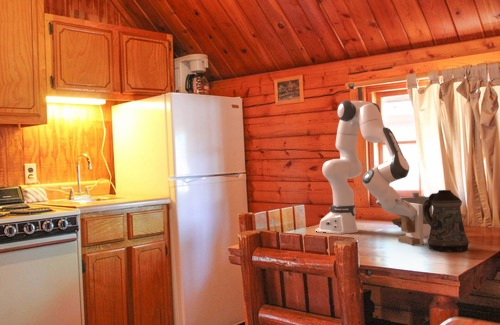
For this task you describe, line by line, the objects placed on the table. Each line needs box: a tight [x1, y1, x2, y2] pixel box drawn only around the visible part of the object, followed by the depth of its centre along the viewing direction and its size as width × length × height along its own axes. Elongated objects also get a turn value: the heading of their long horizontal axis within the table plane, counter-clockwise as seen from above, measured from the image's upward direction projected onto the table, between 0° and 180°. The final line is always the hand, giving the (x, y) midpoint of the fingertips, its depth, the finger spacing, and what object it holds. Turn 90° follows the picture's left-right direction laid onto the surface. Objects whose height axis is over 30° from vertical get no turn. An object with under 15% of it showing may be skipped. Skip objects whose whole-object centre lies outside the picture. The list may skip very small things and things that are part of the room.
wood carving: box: [391, 212, 467, 237], centre depth 247 cm, size 9×35×11 cm, turn 75°
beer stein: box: [423, 189, 470, 254], centre depth 214 cm, size 16×19×25 cm
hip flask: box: [400, 191, 433, 232], centre depth 263 cm, size 16×4×20 cm, turn 82°
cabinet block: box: [400, 215, 415, 234], centre depth 228 cm, size 4×4×11 cm
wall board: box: [397, 203, 424, 246], centre depth 229 cm, size 10×6×18 cm, turn 18°
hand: (409, 219), depth 229 cm, fingers closed on cabinet block, 4 cm apart
